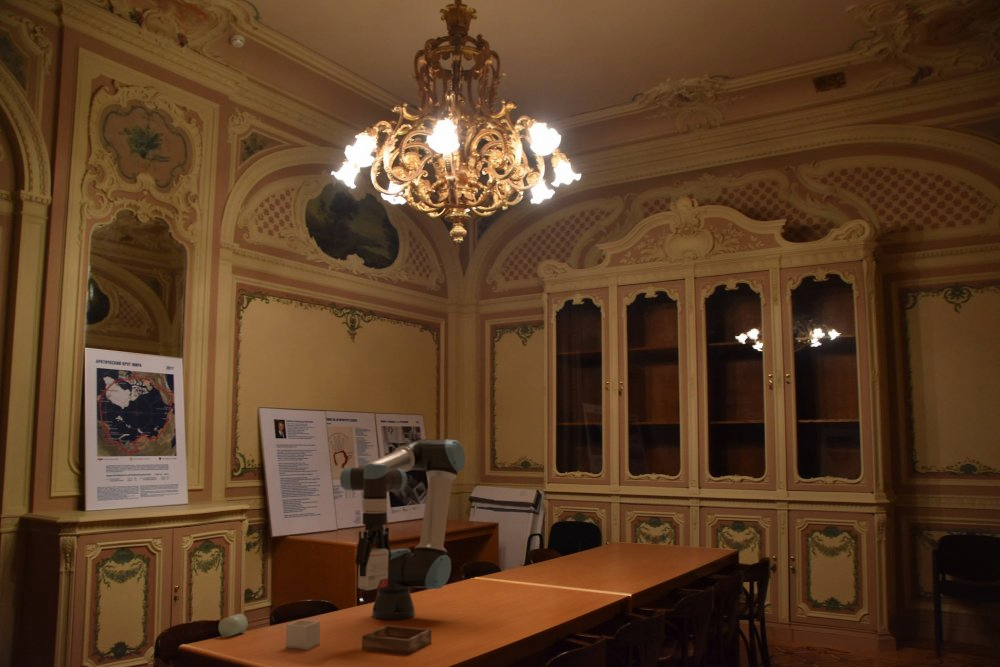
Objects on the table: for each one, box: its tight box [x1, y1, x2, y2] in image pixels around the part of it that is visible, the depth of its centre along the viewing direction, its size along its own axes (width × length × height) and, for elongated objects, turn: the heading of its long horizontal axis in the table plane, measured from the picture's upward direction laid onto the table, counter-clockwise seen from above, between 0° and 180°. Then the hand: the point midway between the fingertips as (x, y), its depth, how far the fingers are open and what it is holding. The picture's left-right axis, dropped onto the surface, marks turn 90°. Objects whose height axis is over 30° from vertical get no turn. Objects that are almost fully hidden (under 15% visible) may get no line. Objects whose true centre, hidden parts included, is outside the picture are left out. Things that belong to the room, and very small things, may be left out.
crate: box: [361, 625, 432, 656], centre depth 256 cm, size 15×16×4 cm
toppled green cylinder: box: [218, 613, 249, 638], centre depth 271 cm, size 7×6×6 cm
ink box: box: [357, 548, 389, 591], centre depth 262 cm, size 9×5×12 cm, turn 134°
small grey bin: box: [285, 619, 321, 651], centre depth 256 cm, size 7×7×7 cm
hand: (373, 584), depth 261 cm, fingers closed on ink box, 9 cm apart
